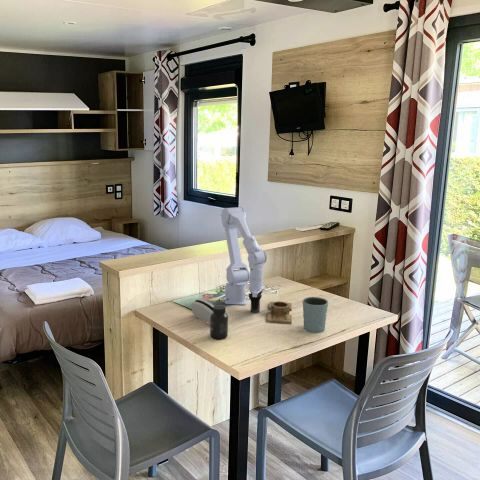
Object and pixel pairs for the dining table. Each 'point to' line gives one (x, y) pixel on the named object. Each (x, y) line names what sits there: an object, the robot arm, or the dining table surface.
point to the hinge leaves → (280, 312)
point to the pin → (257, 309)
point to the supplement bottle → (219, 323)
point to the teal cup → (314, 314)
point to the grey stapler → (202, 309)
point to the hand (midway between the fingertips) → (255, 307)
